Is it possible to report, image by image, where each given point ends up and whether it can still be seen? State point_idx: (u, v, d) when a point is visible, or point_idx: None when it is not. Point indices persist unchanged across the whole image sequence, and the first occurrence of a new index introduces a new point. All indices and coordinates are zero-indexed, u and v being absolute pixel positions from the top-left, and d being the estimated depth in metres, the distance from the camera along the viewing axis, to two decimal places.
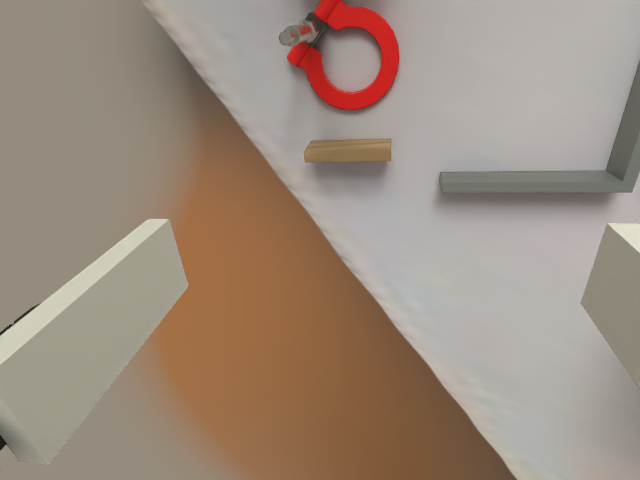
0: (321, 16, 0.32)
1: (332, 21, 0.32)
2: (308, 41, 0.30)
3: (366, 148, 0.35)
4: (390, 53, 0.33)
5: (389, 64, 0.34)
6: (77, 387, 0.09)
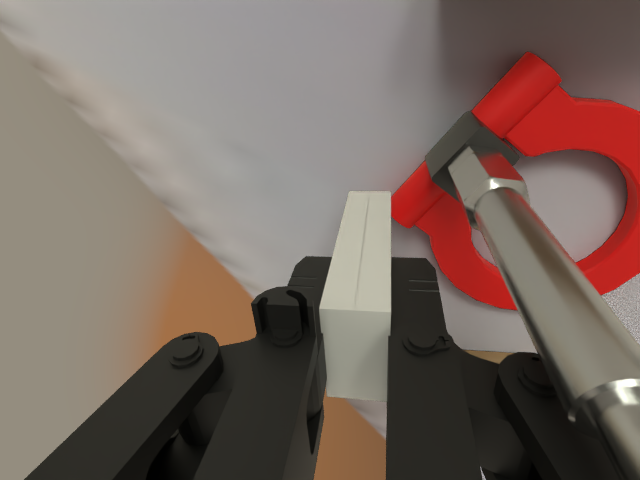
0: (499, 126, 0.12)
1: (523, 136, 0.12)
2: None
3: None
4: None
5: None
6: None
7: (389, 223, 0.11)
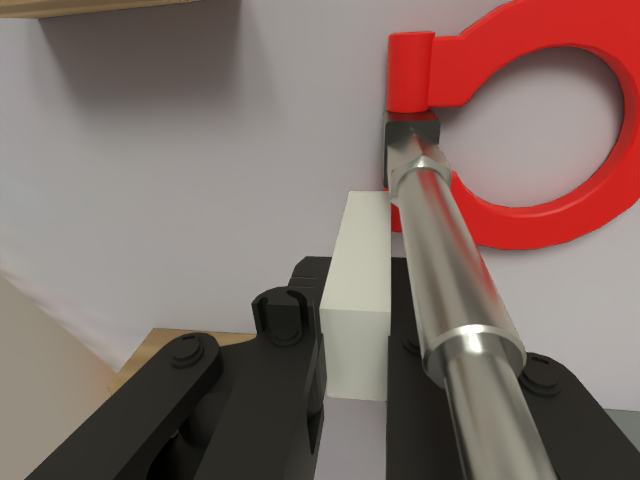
0: (412, 105, 0.12)
1: (442, 95, 0.12)
2: None
3: None
4: None
5: None
6: None
7: (389, 223, 0.11)
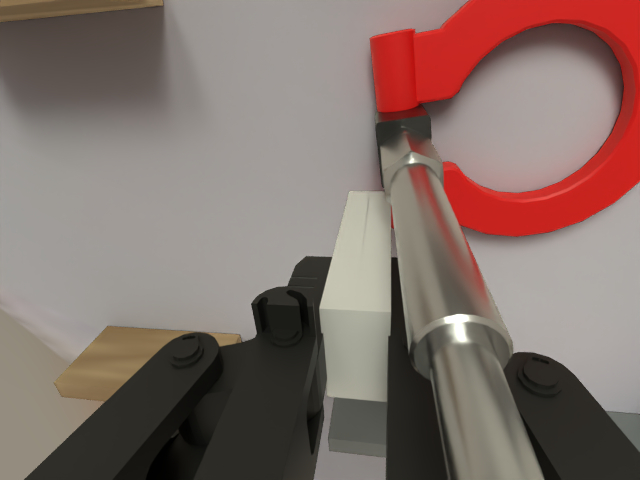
0: (401, 103, 0.12)
1: (430, 89, 0.12)
2: None
3: None
4: (639, 12, 0.10)
5: None
6: None
7: (389, 223, 0.11)
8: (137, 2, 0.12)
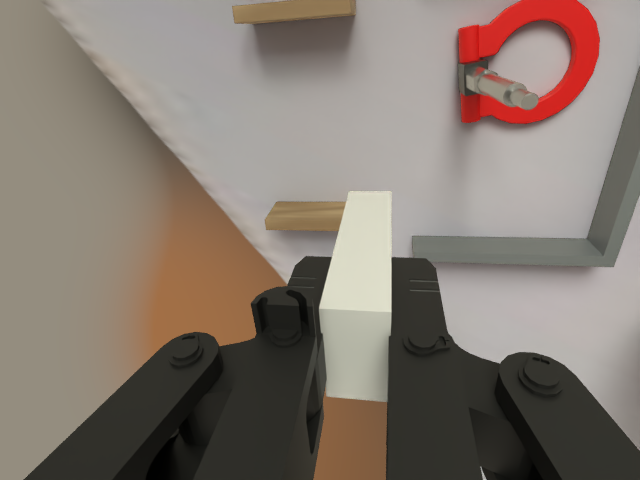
0: (472, 57, 0.27)
1: (485, 51, 0.27)
2: None
3: (330, 217, 0.33)
4: (573, 14, 0.25)
5: (581, 25, 0.26)
6: None
7: (390, 223, 0.11)
8: (353, 14, 0.27)
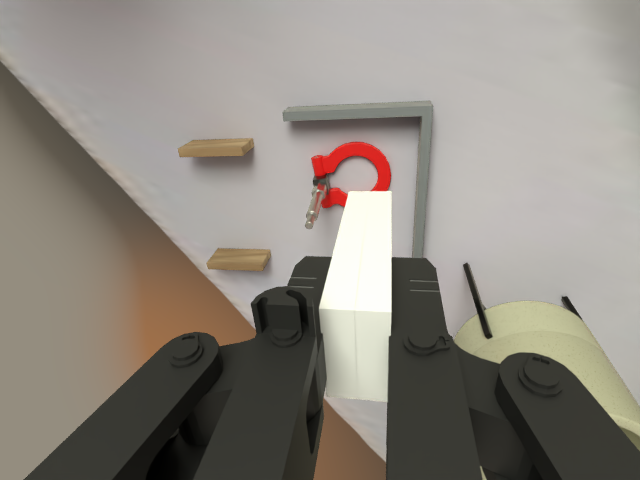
0: (320, 174, 0.46)
1: (327, 170, 0.46)
2: (323, 197, 0.44)
3: (247, 261, 0.52)
4: (372, 154, 0.45)
5: (377, 159, 0.45)
6: None
7: (390, 223, 0.11)
8: (249, 149, 0.46)
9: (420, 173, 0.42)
